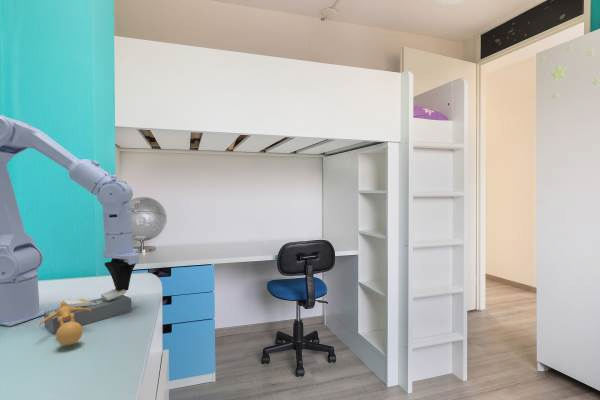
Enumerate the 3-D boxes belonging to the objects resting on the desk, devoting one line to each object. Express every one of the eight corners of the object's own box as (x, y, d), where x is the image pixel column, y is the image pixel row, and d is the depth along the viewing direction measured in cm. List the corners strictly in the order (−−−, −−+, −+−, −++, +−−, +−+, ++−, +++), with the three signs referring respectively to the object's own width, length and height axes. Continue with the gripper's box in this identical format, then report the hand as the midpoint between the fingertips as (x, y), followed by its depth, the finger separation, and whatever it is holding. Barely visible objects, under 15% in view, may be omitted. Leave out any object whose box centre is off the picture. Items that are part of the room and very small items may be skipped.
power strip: (53, 334, 67) (52, 317, 66) (44, 326, 70) (44, 310, 70) (131, 311, 78) (131, 297, 78) (120, 305, 82) (119, 292, 82)
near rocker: (67, 309, 69) (68, 303, 69) (61, 306, 72) (62, 300, 72) (89, 307, 72) (90, 301, 72) (83, 304, 75) (84, 298, 75)
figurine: (40, 343, 56) (34, 294, 64) (45, 366, 59) (38, 317, 67) (97, 325, 61) (85, 282, 69) (99, 347, 64) (87, 303, 72)
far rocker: (108, 302, 75) (107, 297, 75) (102, 299, 78) (100, 294, 77) (126, 294, 78) (125, 289, 78) (119, 292, 81) (118, 287, 80)
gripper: (150, 232, 77) (154, 291, 78) (122, 229, 86) (126, 281, 87) (118, 237, 72) (122, 300, 72) (92, 233, 81) (96, 289, 82)
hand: (122, 290), depth 79 cm, fingers closed, pressing on far rocker
